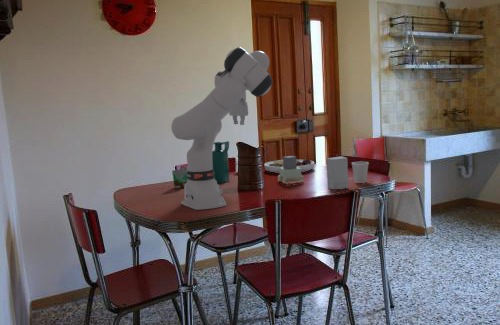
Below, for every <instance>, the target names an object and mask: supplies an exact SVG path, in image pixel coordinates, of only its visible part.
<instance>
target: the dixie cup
mask: <svg viewBox="0 0 500 325" xmlns="http://www.w3.org/2000/svg"><path fill="white" fill-rule="evenodd" d="M369 164H370V163H369V161H353V162H351V166H352V167H351V168H352V172H353V174H352V175H353V179H354V180H353V181H354V183H355V182H359V183H362V182H366V183H367V180H368V179H367V178H368V171H369Z"/></svg>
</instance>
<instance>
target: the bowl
mask: <svg viewBox="0 0 500 325" xmlns="http://www.w3.org/2000/svg"><path fill="white" fill-rule="evenodd" d="M296 165H297V167H298V168H301V172H304V171H308V170H311V169H312V170H313V169H314V167H315V162H314V161H312V160H309V159H307V158H305V159H296ZM282 167H283V159H278V160H272V161H268V162H265V163H264V168H265V170H266V171H267V172H268V171H270V172H275V173H280V171H279V168H282ZM312 170H311V171H312ZM270 172H269V173H270Z"/></svg>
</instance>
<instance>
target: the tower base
mask: <svg viewBox="0 0 500 325" xmlns="http://www.w3.org/2000/svg"><path fill="white" fill-rule="evenodd" d="M278 181H281V182H283V183H286V184H288V183H296V182H303V181H304V182H305V176H304V175H302V176H301V177H290V178H284V177H282V176H280V174H277V182H278Z"/></svg>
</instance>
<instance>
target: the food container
mask: <svg viewBox="0 0 500 325" xmlns="http://www.w3.org/2000/svg"><path fill="white" fill-rule="evenodd" d="M187 171H188V167H187V166H180V167H179V168H178V169H176V170H172V173H171V174H172V179H173V188H174V190H182V189H184V185H185V184H186V183H187V181H188V179H187Z"/></svg>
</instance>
